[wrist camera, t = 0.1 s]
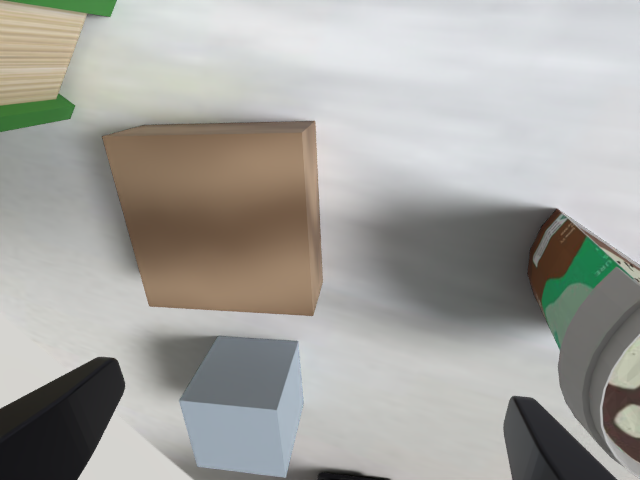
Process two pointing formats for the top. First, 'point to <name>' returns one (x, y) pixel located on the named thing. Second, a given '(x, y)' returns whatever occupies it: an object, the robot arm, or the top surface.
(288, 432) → the grey cube
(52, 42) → the hardback book
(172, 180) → the walnut block
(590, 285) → the food container
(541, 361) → the top surface
